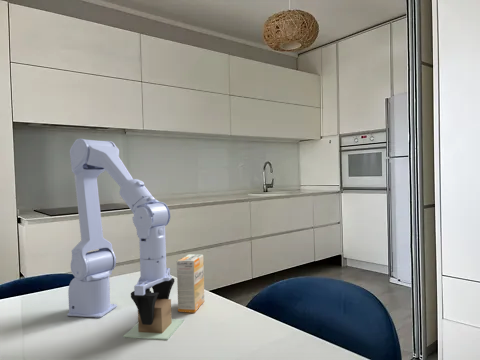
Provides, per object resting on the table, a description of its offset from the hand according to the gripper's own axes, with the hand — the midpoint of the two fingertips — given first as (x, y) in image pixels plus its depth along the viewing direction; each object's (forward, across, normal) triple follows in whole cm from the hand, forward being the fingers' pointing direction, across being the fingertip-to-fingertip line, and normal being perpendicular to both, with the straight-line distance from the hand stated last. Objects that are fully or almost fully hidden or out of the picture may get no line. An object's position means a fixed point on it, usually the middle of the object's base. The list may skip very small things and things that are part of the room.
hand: (154, 317), depth 80 cm
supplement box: (+3, +14, -4) cm, 15 cm away
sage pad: (+3, 0, 0) cm, 3 cm away
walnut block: (+2, 0, 0) cm, 2 cm away
